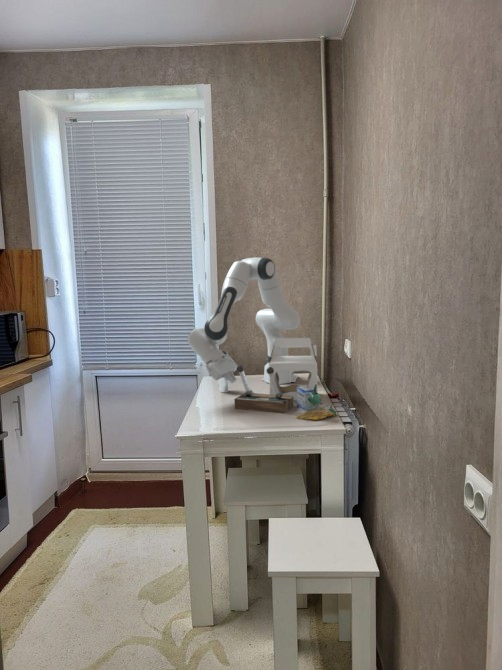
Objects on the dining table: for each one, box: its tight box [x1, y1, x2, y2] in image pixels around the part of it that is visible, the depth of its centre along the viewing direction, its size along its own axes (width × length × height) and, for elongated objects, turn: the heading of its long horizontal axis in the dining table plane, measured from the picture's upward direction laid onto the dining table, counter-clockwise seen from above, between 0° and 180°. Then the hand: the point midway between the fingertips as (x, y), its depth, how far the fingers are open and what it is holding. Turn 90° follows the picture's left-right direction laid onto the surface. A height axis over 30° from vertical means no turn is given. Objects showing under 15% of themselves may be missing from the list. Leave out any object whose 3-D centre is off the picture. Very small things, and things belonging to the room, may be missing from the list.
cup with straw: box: [217, 349, 231, 393], centre depth 238 cm, size 8×9×20 cm
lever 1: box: [236, 365, 254, 397], centre depth 213 cm, size 3×3×14 cm
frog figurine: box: [295, 383, 339, 421], centre depth 193 cm, size 10×18×15 cm, turn 88°
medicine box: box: [296, 385, 315, 412], centre depth 207 cm, size 8×4×9 cm, turn 22°
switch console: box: [234, 392, 294, 414], centre depth 210 cm, size 12×24×4 cm, turn 68°
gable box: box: [268, 337, 318, 401], centre depth 224 cm, size 22×13×28 cm, turn 85°
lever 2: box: [267, 367, 283, 399], centre depth 207 cm, size 3×3×14 cm
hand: (234, 381), depth 214 cm, fingers closed
